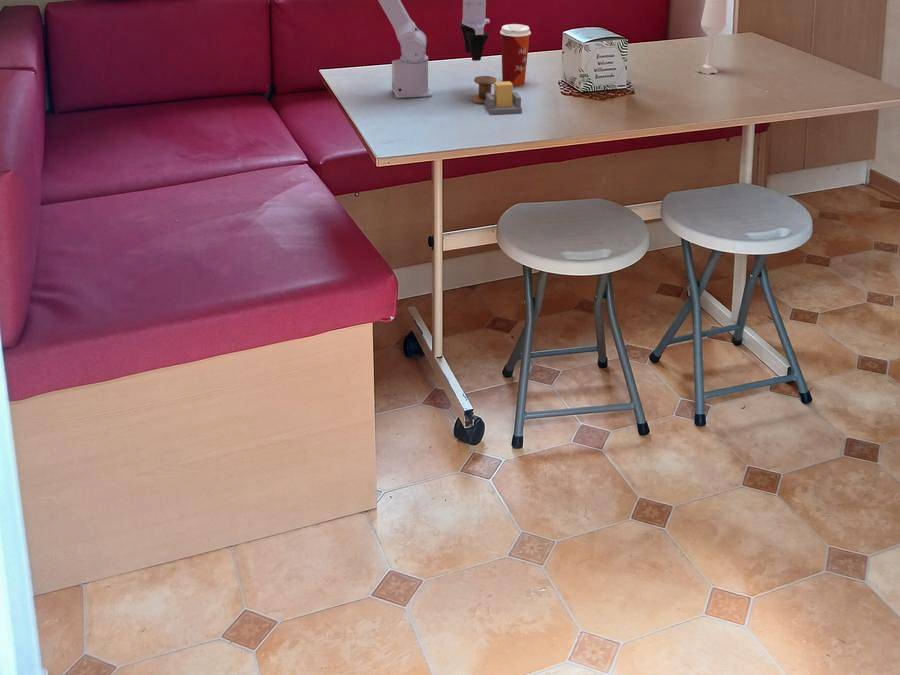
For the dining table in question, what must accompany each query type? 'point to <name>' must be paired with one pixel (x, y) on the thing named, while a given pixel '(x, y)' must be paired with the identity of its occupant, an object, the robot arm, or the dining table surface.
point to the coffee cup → (514, 52)
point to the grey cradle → (503, 110)
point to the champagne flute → (713, 22)
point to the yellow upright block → (503, 94)
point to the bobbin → (483, 88)
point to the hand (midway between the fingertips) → (473, 56)
